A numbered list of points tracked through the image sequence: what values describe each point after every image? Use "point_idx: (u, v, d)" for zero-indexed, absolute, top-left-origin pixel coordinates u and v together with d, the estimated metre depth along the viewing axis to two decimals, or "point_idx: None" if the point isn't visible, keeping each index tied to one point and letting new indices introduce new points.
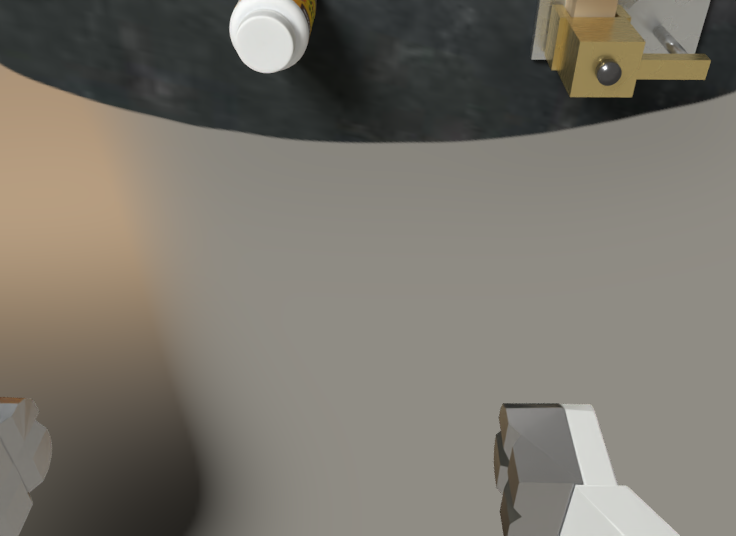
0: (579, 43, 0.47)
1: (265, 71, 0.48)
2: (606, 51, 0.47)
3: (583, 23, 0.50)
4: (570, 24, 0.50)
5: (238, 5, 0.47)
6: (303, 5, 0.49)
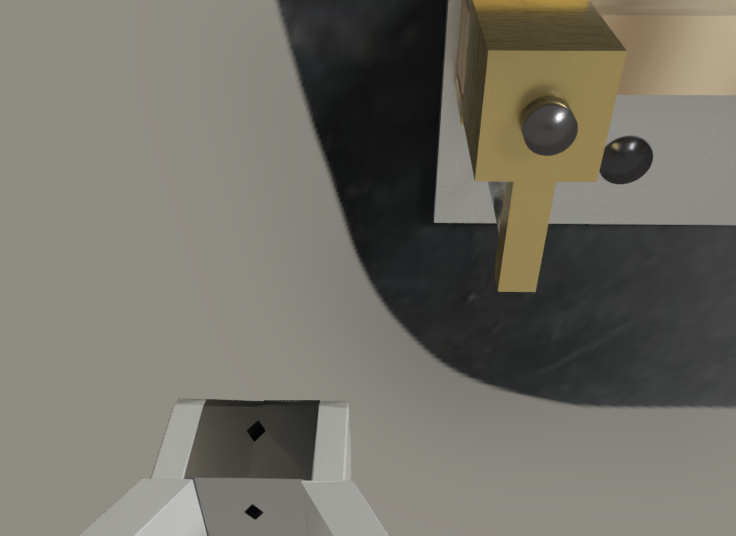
0: (619, 49, 0.20)
1: None
2: (590, 111, 0.21)
3: None
4: None
5: None
6: None
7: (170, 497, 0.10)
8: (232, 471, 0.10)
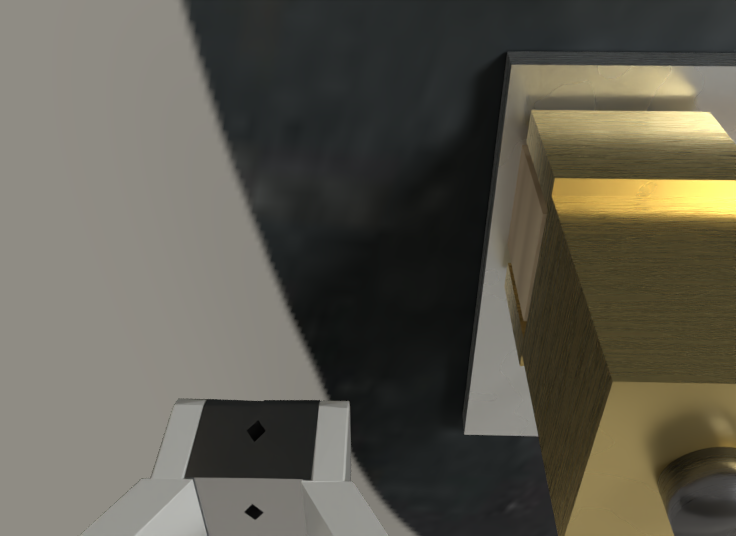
0: None
1: None
2: None
3: None
4: None
5: None
6: None
7: (170, 497, 0.10)
8: (232, 471, 0.10)
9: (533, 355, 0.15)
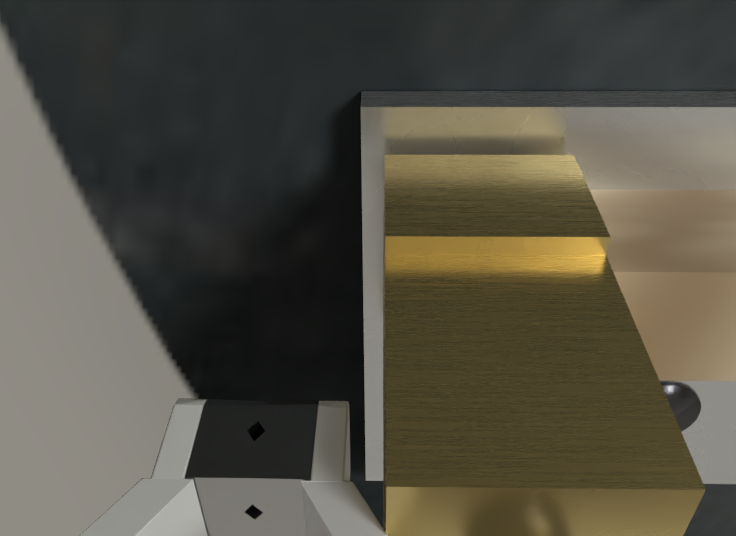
0: (687, 481, 0.09)
1: None
2: None
3: None
4: (627, 311, 0.11)
5: None
6: None
7: (170, 497, 0.10)
8: (232, 471, 0.10)
9: None
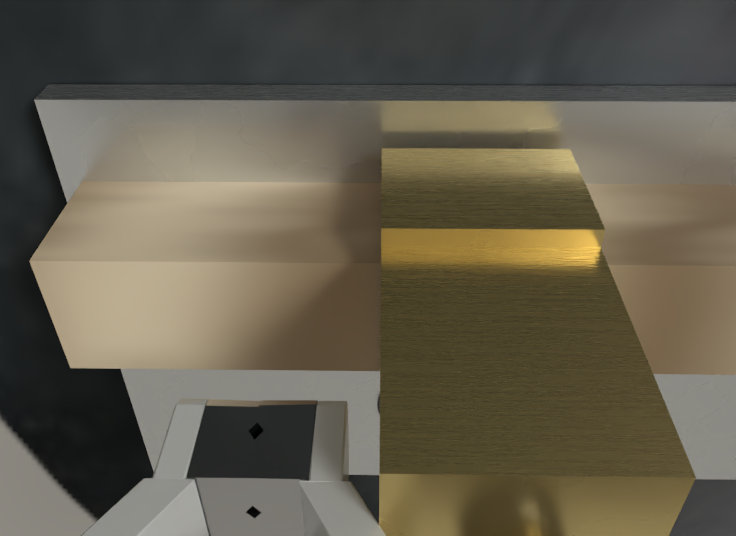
0: (677, 469, 0.09)
1: None
2: None
3: None
4: (621, 303, 0.12)
5: None
6: None
7: (172, 497, 0.10)
8: (234, 471, 0.10)
9: None
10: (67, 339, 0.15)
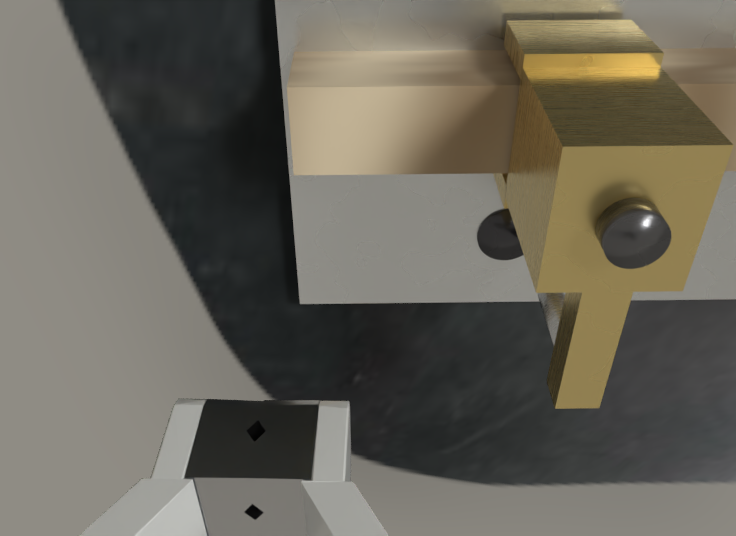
0: (723, 143, 0.16)
1: None
2: (682, 214, 0.17)
3: None
4: (678, 88, 0.19)
5: None
6: None
7: (170, 497, 0.10)
8: (232, 471, 0.10)
9: (513, 188, 0.21)
10: (297, 150, 0.22)
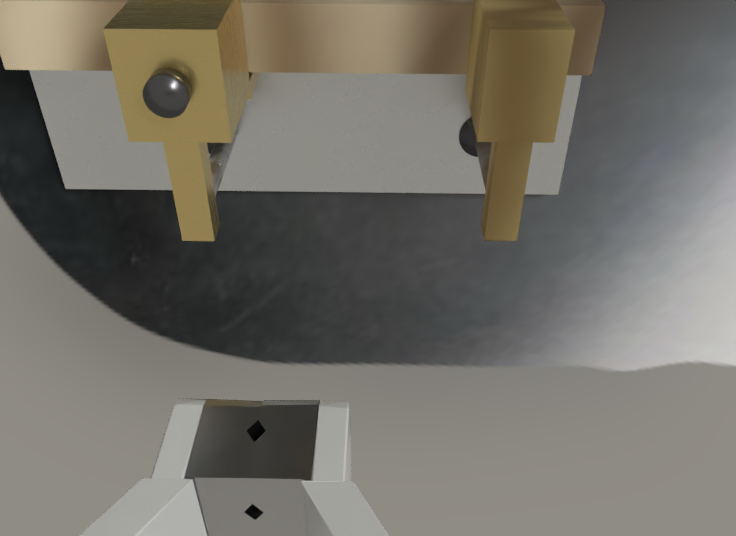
0: (212, 28, 0.24)
1: None
2: (204, 81, 0.26)
3: (236, 24, 0.28)
4: (233, 1, 0.27)
5: None
6: None
7: (170, 497, 0.10)
8: (232, 471, 0.10)
9: None
10: (2, 49, 0.30)
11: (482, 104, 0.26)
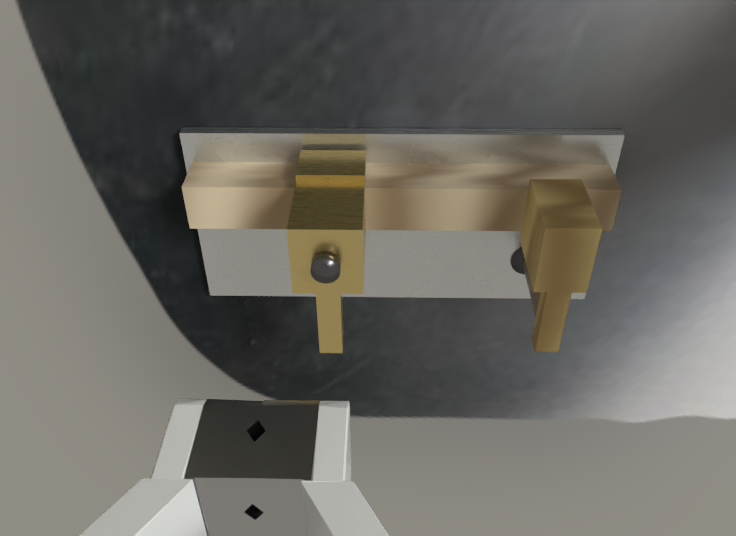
0: (359, 228, 0.37)
1: None
2: (350, 258, 0.38)
3: (364, 208, 0.40)
4: (364, 196, 0.39)
5: None
6: None
7: (170, 497, 0.10)
8: (232, 471, 0.10)
9: None
10: (190, 216, 0.43)
11: (538, 270, 0.38)
